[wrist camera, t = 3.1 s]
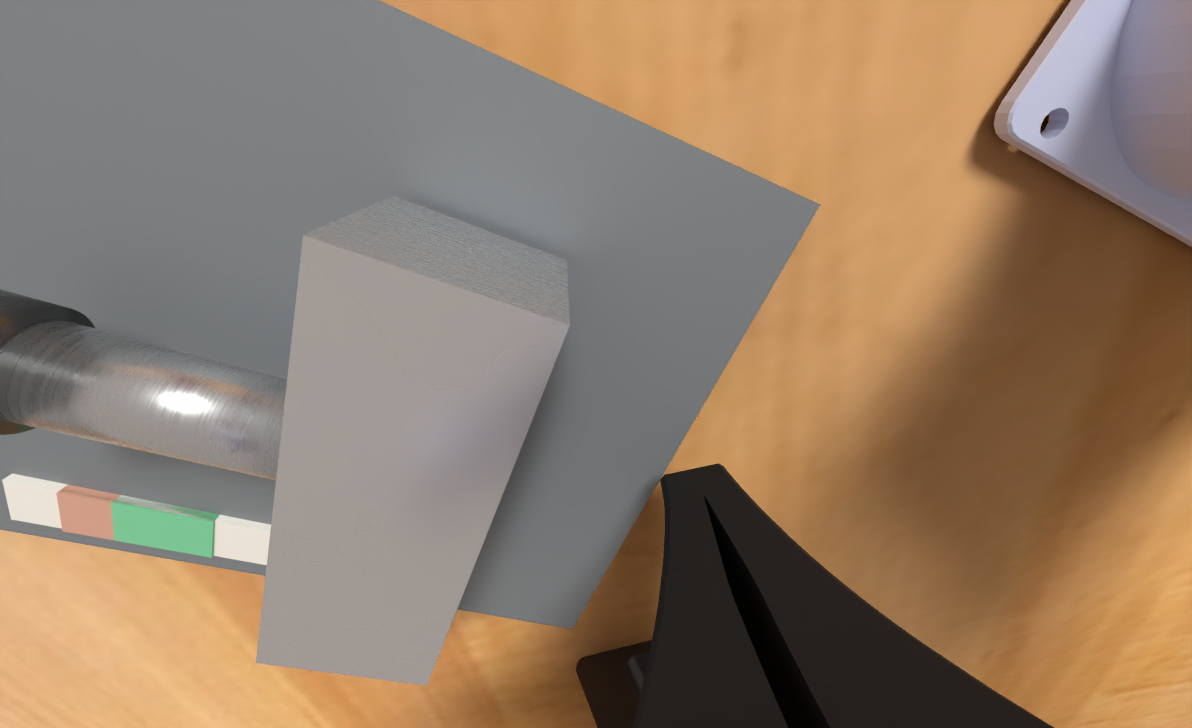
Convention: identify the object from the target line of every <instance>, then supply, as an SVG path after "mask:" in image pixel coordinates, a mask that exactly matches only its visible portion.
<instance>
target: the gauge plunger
mask: <svg viewBox="0 0 1192 728" xmlns="http://www.w3.org/2000/svg"><path fill="white" fill-rule="evenodd" d="M569 326H570V315H569V294H568V273H567V260H566V259H564V258H561V257H558V256H556V255H553V254H550V253H548V252H545V251H542V250H539V249H537V248H534V247H531V246H529V245H526V244H523V243H521V242H518V241H515V240H513V239H510V238H507V237H504V236H502V235H499V234H496V233H494V232H491V231H488V230H486V229H483V228H480V227H477V226H475V225H472V224H469V223H467V222H464V221H461V220H459V219H456V218H453V217H451V216H448V215H445V214H442V213H440V212H437V211H434V210H432V209H429V208H426V207H424V206H421V205H418V204H415V203H413V202H410V201H407V200H405V199H402V198H399V197H397V196H392V197H390V198H388V199H385V200H383V201H381V202H379V203H376V204H374V205H372V206H369V207H367V208H365V209H362V210H360V211H358V212H355V213H353V214H351V215H348V216H346V217H344V218H341V219H339V220H337V221H334V222H332V223H330V224H327V225H325V226H323V227H320V228H318V229H316V230H314V231H311V232H309V233H307V234H304V235H303V240H302V249H301V258H300V267H299V276H298V285H297V295H296V304H295V313H294V322H293V331H292V340H291V349H290V358H289V367H288V376H287V380H286V379H282V378H278V377H275V376H271V375H267V374H263V373H260V372H256V371H252V370H248V369H245V368H241V367H237V366H233V365H230V364H226V363H222V362H218V361H215V360H211V359H207V358H204V357H200V356H196V355H192V354H189V353H185V352H181V351H177V350H174V349H170V348H166V347H162V346H159V345H155V344H151V343H147V342H144V341H140V340H136V339H132V338H129V337H125V336H121V335H117V334H114V333H110V332H106V331H102V330H99V329H95V327H94V325H93V323H92V322H91V321H90V319H89V318H87V317H86V316H85V315H84V314H82V313H81V312H79V311H76V310H74V309H71V308H67V307H64V306H60V305H56V304H53V303H49V302H45V301H42V300H38V299H34V298H31V297H27V296H23V295H20V294H16V293H12V292H9V291H5V290H1V289H0V435H9V434H17V433H22V432H25V431H29V430H32V429H34V428H40V429H45V430H49V431H54V432H58V433H63V434H68V435H72V436H77V437H81V438H86V439H90V440H95V441H99V442H104V443H109V444H113V445H118V446H122V447H127V448H131V449H136V450H141V451H145V452H150V453H154V454H159V455H163V456H168V457H172V458H177V459H182V460H186V461H191V462H195V463H200V464H204V465H209V466H213V467H218V468H223V469H227V470H232V471H236V472H241V473H245V474H250V475H255V476H259V477H264V478H268V479H273V480H276V485H275V494H274V503H273V513H272V522H271V531H270V540H269V549H268V558H267V567H266V576H265V585H264V594H263V603H262V612H261V622H260V631H259V640H258V649H257V658H256V663H261V664H269V665H276V666H284V667H291V668H299V669H306V670H313V671H321V672H328V673H336V674H343V675H351V676H358V677H366V678H373V679H381V680H388V681H396V682H403V683H411V684H418V685H426V686H427V684H428V681H429V679H430V676H431V674H432V671H433V669H434V666H435V664H436V661H437V659H438V656H439V654H440V651H441V649H442V646H443V644H444V641H445V639H446V636H447V633H448V631H449V628H450V626H451V623H452V621H453V618H454V616H455V613H456V611H457V608H458V606H459V603H460V601H461V598H462V596H463V593H464V591H465V588H466V586H467V583H468V581H469V578H470V576H471V573H472V571H473V568H474V565H475V563H476V560H477V558H478V555H479V553H480V550H481V548H482V545H483V543H484V540H485V538H486V535H487V533H488V530H489V528H490V525H491V523H492V520H493V518H494V515H495V513H496V510H497V508H498V505H499V502H500V500H501V497H502V495H503V492H504V490H505V487H506V485H507V482H508V480H509V477H510V475H511V472H512V470H513V467H514V465H515V462H516V460H517V457H518V455H519V452H520V450H521V447H522V445H523V442H524V439H525V437H526V434H527V432H528V429H529V427H530V424H531V422H532V419H533V417H534V414H535V412H536V409H537V407H538V404H539V402H540V399H541V397H542V394H543V392H544V389H545V387H546V384H547V382H548V379H549V377H550V374H551V371H552V369H553V366H554V364H555V361H556V359H557V356H558V354H559V351H560V349H561V346H562V344H563V341H564V339H565V336H566V334H567V331H568V329H569Z"/></svg>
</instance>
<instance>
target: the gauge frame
mask: <svg viewBox="0 0 1192 728" xmlns="http://www.w3.org/2000/svg"><path fill="white" fill-rule="evenodd" d="M392 196H397V197H399V198H402V199H405V200H407V201H410V202H413V203H415V204H418V205H421V206H424V207H426V208H429V209H432V210H434V211H437V212H440V213H442V214H445V215H448V216H451V217H453V218H456V219H459V220H461V221H464V222H467V223H469V224H472V225H475V226H477V227H480V228H483V229H486V230H488V231H491V232H494V233H496V234H499V235H502V236H504V237H507V238H510V239H513V240H515V241H518V242H521V243H523V244H526V245H529V246H531V247H534V248H537V249H539V250H542V251H545V252H548V253H550V254H553V255H556V256H558V257H561V258H564V259H566V260H567V273H568V294H569V315H570V326H569V329H568V331H567V334H566V336H565V339H564V341H563V344H562V346H561V349H560V351H559V354H558V356H557V359H556V361H555V364H554V366H553V369H552V371H551V374H550V377H549V379H548V382H547V384H546V387H545V389H544V392H543V394H542V397H541V399H540V402H539V404H538V407H537V409H536V412H535V414H534V417H533V419H532V422H531V424H530V427H529V429H528V432H527V434H526V437H525V439H524V442H523V445H522V447H521V450H520V452H519V455H518V457H517V460H516V462H515V465H514V467H513V470H512V472H511V475H510V477H509V480H508V482H507V485H506V487H505V490H504V492H503V495H502V497H501V500H500V502H499V505H498V508H497V510H496V513H495V515H494V518H493V520H492V523H491V525H490V528H489V530H488V533H487V535H486V538H485V540H484V543H483V545H482V548H481V550H480V553H479V555H478V558H477V560H476V563H475V565H474V568H473V571H472V573H471V576H470V578H469V581H468V583H467V586H466V588H465V591H464V593H463V596H462V598H461V601H460V603H459V606H458V608H457V609H459V610H465V611H471V612H476V613H482V614H488V615H494V616H499V617H505V618H511V619H517V620H522V621H528V622H534V623H539V624H545V625H551V626H557V627H562V628H568V629H573V628H574V626H575V624H576V622H577V621H578V619H579V617H580V616H581V614H582V612H583V610H584V609H585V607H586V605H587V604H588V602H589V600H590V598H591V597H592V595H593V593H594V592H595V590H596V588H597V586H598V585H599V583H600V581H601V580H602V578H603V576H604V574H605V573H606V571H607V569H608V568H609V566H610V564H611V562H612V561H613V559H614V557H615V556H616V554H617V552H618V550H619V549H620V547H621V545H622V544H623V542H624V540H625V538H626V537H627V535H628V533H629V532H630V530H631V528H632V526H633V525H634V523H635V521H636V520H637V518H638V516H639V514H640V513H641V511H642V509H643V508H644V506H645V504H646V502H647V501H648V499H649V497H650V496H651V494H652V492H653V490H654V489H655V487H656V485H657V484H658V482H659V480H660V478H661V477H662V475H663V473H664V472H665V470H666V468H667V466H668V465H669V463H670V461H671V460H672V458H673V456H674V454H675V453H676V451H677V449H678V448H679V446H680V444H681V442H682V441H683V439H684V437H685V436H686V434H687V432H688V430H689V429H690V427H691V425H692V424H693V422H694V420H695V418H696V417H697V415H698V413H699V412H700V410H701V408H702V406H703V405H704V403H705V401H706V400H707V398H708V396H709V394H710V393H711V391H712V389H713V388H714V386H715V384H716V383H717V381H718V379H719V377H720V376H721V374H722V372H723V371H724V369H725V367H726V365H727V364H728V362H729V360H730V359H731V357H732V355H733V353H734V352H735V350H736V348H737V347H738V345H739V343H740V341H741V340H742V338H743V336H744V335H745V333H746V331H747V329H748V328H749V326H750V324H751V323H752V321H753V319H754V317H755V316H756V314H757V312H758V311H759V309H760V307H761V305H762V304H763V302H764V300H765V299H766V297H767V295H768V293H769V292H770V290H771V288H772V287H773V285H774V283H775V281H776V280H777V278H778V276H779V275H780V273H781V271H782V269H783V268H784V266H785V264H786V263H787V261H788V259H789V257H790V256H791V254H792V252H793V251H794V249H795V247H796V245H797V244H798V242H799V240H800V239H801V237H802V235H803V233H804V232H805V230H806V228H807V227H808V225H809V223H810V221H811V220H812V218H813V216H814V215H815V213H816V211H817V209H818V208H819V206H820V204H818V203H815V202H813V201H811V200H809V199H807V198H805V197H803V196H800V195H798V194H796V193H794V192H792V191H790V190H787V189H785V188H783V187H781V186H779V185H777V184H774V183H772V182H770V181H768V180H766V179H764V178H761V177H759V176H757V175H755V174H753V173H751V172H749V171H746V170H744V169H742V168H740V167H738V166H736V165H733V164H731V163H729V162H727V161H725V160H723V159H720V158H718V157H716V156H714V155H712V154H710V153H707V152H705V151H703V150H701V149H699V148H697V147H695V146H692V145H690V144H688V143H686V142H684V141H682V140H679V139H677V138H675V137H673V136H671V135H669V134H666V133H664V132H662V131H660V130H658V129H656V128H653V127H651V126H649V125H647V124H645V123H643V122H641V121H638V120H636V119H634V118H632V117H630V116H628V115H625V114H623V113H621V112H619V111H617V110H615V109H612V108H610V107H608V106H606V105H604V104H602V103H599V102H597V101H595V100H593V99H591V98H589V97H586V96H584V95H582V94H580V93H578V92H576V91H574V90H571V89H569V88H567V87H565V86H563V85H561V84H558V83H556V82H554V81H552V80H550V79H548V78H545V77H543V76H541V75H539V74H537V73H535V72H532V71H530V70H528V69H526V68H524V67H522V66H520V65H517V64H515V63H513V62H511V61H509V60H507V59H504V58H502V57H500V56H498V55H496V54H494V53H491V52H489V51H487V50H485V49H483V48H481V47H478V46H476V45H474V44H472V43H470V42H468V41H466V40H463V39H461V38H459V37H457V36H455V35H453V34H450V33H448V32H446V31H444V30H442V29H440V28H437V27H435V26H433V25H431V24H429V23H427V22H424V21H422V20H420V19H418V18H416V17H414V16H412V15H409V14H407V13H405V12H403V11H401V10H399V9H396V8H394V7H392V6H390V5H388V4H386V3H383V2H381V1H379V0H0V289H1V290H5V291H9V292H12V293H16V294H20V295H23V296H27V297H31V298H34V299H38V300H42V301H45V302H49V303H53V304H56V305H60V306H64V307H67V308H71V309H74V310H76V311H79V312H81V313H82V314H84V315H85V316H86V317H87V318H89V319H90V321H91V322H92V323H93V325H94V327H95V329H99V330H102V331H106V332H110V333H114V334H117V335H121V336H125V337H129V338H132V339H136V340H140V341H144V342H147V343H151V344H155V345H159V346H162V347H166V348H170V349H174V350H177V351H181V352H185V353H189V354H192V355H196V356H200V357H204V358H207V359H211V360H215V361H218V362H222V363H226V364H230V365H233V366H237V367H241V368H245V369H248V370H252V371H256V372H260V373H263V374H267V375H271V376H275V377H278V378H282V379H286V380H287V376H288V367H289V358H290V349H291V340H292V331H293V322H294V313H295V304H296V295H297V285H298V276H299V267H300V258H301V249H302V240H303V235H304V234H307V233H309V232H311V231H314V230H316V229H318V228H320V227H323V226H325V225H327V224H330V223H332V222H334V221H337V220H339V219H341V218H344V217H346V216H348V215H351V214H353V213H355V212H358V211H360V210H362V209H365V208H367V207H369V206H372V205H374V204H376V203H379V202H381V201H383V200H385V199H388V198H390V197H392ZM275 485H276V480H273V479H268V478H264V477H259V476H255V475H250V474H245V473H241V472H236V471H232V470H227V469H223V468H218V467H213V466H209V465H204V464H200V463H195V462H191V461H186V460H182V459H177V458H172V457H168V456H163V455H159V454H154V453H150V452H145V451H141V450H136V449H131V448H127V447H122V446H118V445H113V444H109V443H104V442H99V441H95V440H90V439H86V438H81V437H77V436H72V435H68V434H63V433H58V432H54V431H49V430H45V429H40V428H34V429H32V430H29V431H25V432H22V433H17V434H9V435H0V530H6V531H12V532H17V533H23V534H29V535H35V536H40V537H46V538H52V539H58V540H63V541H69V542H75V543H81V544H86V545H92V546H98V547H103V548H109V549H115V550H121V551H126V552H132V553H138V554H144V555H149V556H155V557H161V558H167V559H172V560H178V561H184V562H190V563H195V564H201V565H207V566H212V567H218V568H224V569H230V570H235V571H241V572H247V573H253V574H258V575H264V576H266V567H267V558H268V549H269V540H270V531H271V522H272V513H273V503H274V494H275Z"/></svg>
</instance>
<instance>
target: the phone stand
mask: <svg viewBox="0 0 1192 728" xmlns="http://www.w3.org/2000/svg"><path fill="white" fill-rule="evenodd" d="M651 644H652V640H650V641H646V642H642V643H638V644H634V645H630V646H626V647H622V648H618V649H614V650H610V651H606V652H602V653H598V654H594V655H590V656H586V657H583V658H582V659H581V660H580V661H579V662H578V664H577V667H576V671H577V675H578V677H579V680H580V682H581V685H582V688H583V690H584V693H585V695H586V698H587V701H588V703H589V706H590V709H591V711H592V714H593V716H594V719H595V722H596V724H597V727H598V728H632V725H633V722H634V718H635V714H636V710H637V706H638V702H639V698H640V694H641V690H642V685H643V681H644V677H645V672H646V668H647V663H648V659H649V654H650V649H651Z"/></svg>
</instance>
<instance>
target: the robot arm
mask: <svg viewBox="0 0 1192 728" xmlns="http://www.w3.org/2000/svg"><path fill="white" fill-rule="evenodd" d="M1048 114H1049V122H1048V124H1047V126H1046V128H1045V129H1044V130H1043V131H1042V132H1041V133H1040V127H1041V124H1042V122H1043V120H1044V118H1045V117H1046V116H1047V115H1048ZM994 128H995V133H996V134H997V135H998V136H999V137H1000V139H1002V140H1003V141H1005V142H1007V143H1009V144H1010V145H1012V146H1014V147H1016V148H1018V149H1019V150H1021V151H1023V152H1025V153H1026V154H1028V155H1030V156H1032V157H1033V158H1035V159H1037V160H1039V161H1040V162H1042V163H1044V164H1046V165H1048V166H1049V167H1051V168H1053V169H1055V170H1056V171H1058V172H1060V173H1062V174H1063V175H1065V176H1067V177H1069V178H1070V179H1072V180H1074V181H1076V182H1078V183H1079V184H1081V185H1083V186H1085V187H1086V188H1088V189H1090V190H1092V191H1093V192H1095V193H1097V194H1099V195H1100V196H1102V197H1104V198H1106V199H1108V200H1109V201H1111V202H1113V203H1115V204H1116V205H1118V206H1120V207H1122V208H1123V209H1125V210H1127V211H1129V212H1130V213H1132V214H1134V215H1136V216H1138V217H1139V218H1141V219H1143V220H1145V221H1146V222H1148V223H1150V224H1152V225H1153V226H1155V227H1157V228H1159V229H1161V230H1162V231H1164V232H1166V233H1168V234H1169V235H1171V236H1173V237H1175V238H1176V239H1178V240H1180V241H1182V242H1183V243H1185V244H1187V245H1189V246H1191V247H1192V0H1071V1H1070V3H1069V4H1068V6H1067V7H1066V9H1065V10H1064V12H1063V13H1062V14H1061V16H1060V17H1059V19H1058V20H1057V22H1056V23H1055V25H1054V26H1053V28H1052V29H1051V31H1050V32H1049V33H1048V35H1047V36H1046V38H1045V39H1044V41H1043V42H1042V44H1041V45H1040V47H1039V48H1038V49H1037V51H1036V52H1035V54H1034V55H1033V57H1032V58H1031V60H1030V61H1029V63H1028V64H1027V66H1026V67H1025V68H1024V70H1023V71H1022V73H1021V74H1020V76H1019V77H1018V79H1017V80H1016V82H1015V83H1014V84H1013V86H1012V87H1011V89H1010V90H1009V92H1008V93H1007V95H1006V96H1005V98H1004V99H1003V101H1002V102H1001V104H1000V106H999V108H998V110H997V112H996V114H995V120H994ZM660 481H661V486H662V492H663V497H664V506H665V539H664V558H663V569H662V578H661V586H660V595H659V603H658V609H657V616H656V622H655V628H654V633H653V639H652V644H651V649H650V654H649V659H648V663H647V668H646V672H645V677H644V681H643V685H642V690H641V694H640V698H639V702H638V706H637V710H636V714H635V718H634V722H633V725H632V728H1054V727H1052V726H1051V725H1049V724H1047V723H1046V722H1044V721H1042V720H1041V719H1039V718H1037V717H1036V716H1034V715H1033V714H1031V713H1029V712H1028V711H1026V710H1025V709H1023V708H1021V707H1020V706H1018V705H1016V704H1015V703H1013V702H1012V701H1010V700H1008V699H1007V698H1005V697H1004V696H1002V695H1000V694H999V693H997V692H995V691H994V690H992V689H991V688H989V687H988V686H986V685H985V684H983V683H982V682H980V681H979V680H977V679H976V678H974V677H973V676H971V675H970V674H968V673H967V672H965V671H964V670H962V669H961V668H959V667H958V666H956V665H955V664H953V663H952V662H950V661H949V660H947V659H946V658H944V657H943V656H941V655H940V654H938V653H937V652H935V651H934V650H932V649H931V648H929V647H928V646H926V645H925V644H923V643H922V642H920V641H919V640H917V639H916V638H914V637H913V636H912V635H910V634H909V633H908V632H906V631H905V630H903V629H902V628H901V627H899V626H898V625H897V624H895V623H894V622H892V621H891V620H890V619H888V618H887V617H886V616H884V615H883V614H881V613H880V612H879V611H878V610H876V609H875V608H874V607H872V606H871V605H870V604H868V603H867V602H866V601H865V600H863V599H862V598H861V597H859V596H858V595H857V594H856V593H854V592H853V591H852V590H851V589H849V588H848V587H847V586H846V585H844V584H843V583H842V582H841V581H839V580H838V579H837V578H836V577H835V576H833V575H832V574H831V573H830V572H829V571H827V570H826V569H825V568H824V567H823V566H822V565H821V564H819V563H818V562H817V561H816V560H815V559H814V558H813V557H811V556H810V555H809V554H808V553H807V552H806V551H805V550H803V549H802V548H801V547H800V546H799V545H798V544H797V543H796V542H795V541H794V540H793V539H792V538H790V537H789V536H788V535H787V534H786V533H785V532H784V531H783V530H782V529H781V528H780V527H779V526H778V525H777V524H776V523H775V522H774V521H773V520H772V519H771V518H770V517H769V516H768V515H767V514H766V513H765V512H764V511H763V510H762V509H761V508H760V507H759V506H758V505H757V504H756V503H755V502H754V501H753V500H752V499H751V498H750V497H749V495H748V494H747V493H746V492H745V491H744V490H743V489H742V488H741V487H740V486H739V484H738V483H737V482H736V481H735V480H734V479H733V477H732V476H731V475H730V474H729V473H728V471H727V470H726V469H725V468H724V467H723V466H722V465H720V464H714V465H709V466H705V467H700V468H695V469H690V470H686V471H681V472H676V473H671V474H667V475H664V476H663V477H662V478H661V480H660Z"/></svg>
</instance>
